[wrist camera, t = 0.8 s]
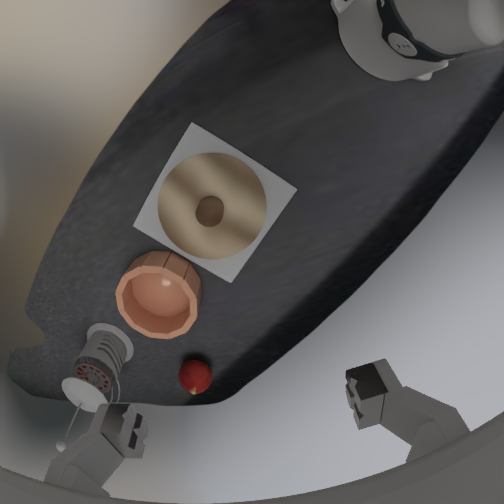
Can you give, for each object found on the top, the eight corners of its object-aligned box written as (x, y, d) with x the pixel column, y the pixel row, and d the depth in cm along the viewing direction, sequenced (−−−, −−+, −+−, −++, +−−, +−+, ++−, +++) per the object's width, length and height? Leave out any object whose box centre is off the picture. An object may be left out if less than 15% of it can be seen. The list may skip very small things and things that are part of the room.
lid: (194, 132, 38) (189, 131, 34) (287, 191, 41) (291, 196, 38) (141, 223, 42) (133, 232, 38) (228, 274, 45) (228, 287, 42)
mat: (192, 122, 37) (191, 122, 37) (296, 188, 41) (297, 189, 41) (133, 225, 42) (132, 226, 42) (231, 282, 46) (231, 283, 46)
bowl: (146, 236, 43) (135, 250, 38) (215, 276, 46) (212, 294, 41) (117, 295, 46) (106, 312, 41) (179, 329, 49) (174, 350, 44)
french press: (117, 318, 48) (60, 430, 25) (147, 366, 52) (114, 477, 29) (77, 328, 49) (17, 426, 26) (108, 372, 53) (68, 472, 30)
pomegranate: (199, 377, 54) (195, 408, 46) (175, 361, 52) (168, 392, 45) (219, 362, 52) (217, 394, 45) (194, 345, 51) (189, 377, 43)
